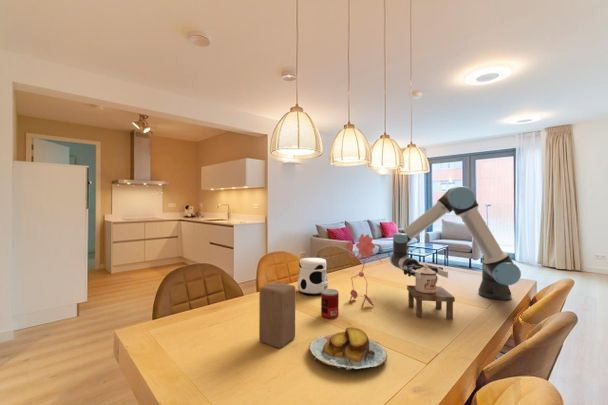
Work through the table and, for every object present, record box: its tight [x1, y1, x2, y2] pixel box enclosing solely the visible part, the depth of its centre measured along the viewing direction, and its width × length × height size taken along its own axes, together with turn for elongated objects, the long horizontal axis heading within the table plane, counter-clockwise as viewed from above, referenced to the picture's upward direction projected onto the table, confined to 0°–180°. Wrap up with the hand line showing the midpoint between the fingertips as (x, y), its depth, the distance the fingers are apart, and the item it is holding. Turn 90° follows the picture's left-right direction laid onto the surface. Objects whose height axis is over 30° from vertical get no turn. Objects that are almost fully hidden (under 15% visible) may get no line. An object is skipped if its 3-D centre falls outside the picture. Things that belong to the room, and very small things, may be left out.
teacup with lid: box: [414, 264, 439, 293], centre depth 133 cm, size 12×9×12 cm
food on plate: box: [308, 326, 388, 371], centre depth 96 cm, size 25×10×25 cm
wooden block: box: [258, 281, 296, 349], centre depth 105 cm, size 10×10×20 cm
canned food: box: [320, 288, 340, 320], centre depth 128 cm, size 8×8×11 cm
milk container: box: [297, 257, 329, 296], centre depth 162 cm, size 17×17×18 cm
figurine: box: [346, 233, 383, 308], centre depth 146 cm, size 15×26×35 cm, turn 31°
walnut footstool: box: [406, 285, 456, 321], centre depth 133 cm, size 16×16×10 cm
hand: (433, 275), depth 129 cm, fingers open, 13 cm apart
